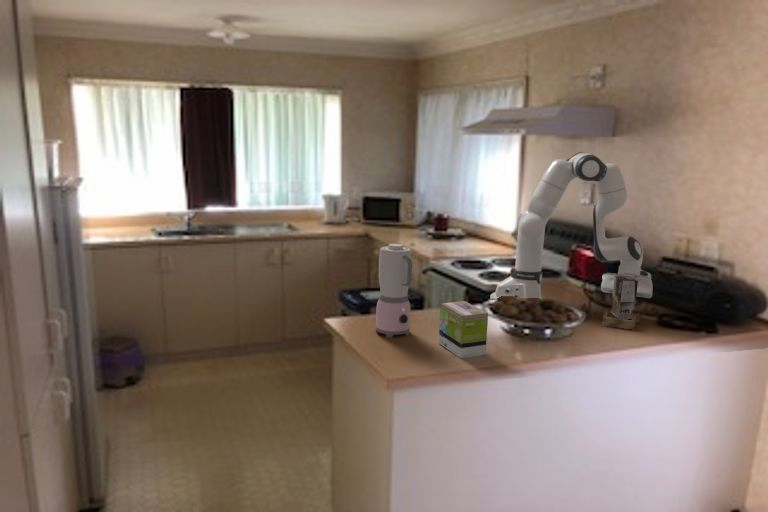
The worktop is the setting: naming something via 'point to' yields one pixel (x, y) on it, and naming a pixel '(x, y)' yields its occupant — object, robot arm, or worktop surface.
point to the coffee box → (624, 297)
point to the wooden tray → (619, 321)
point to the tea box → (463, 329)
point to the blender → (394, 290)
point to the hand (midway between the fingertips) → (624, 302)
